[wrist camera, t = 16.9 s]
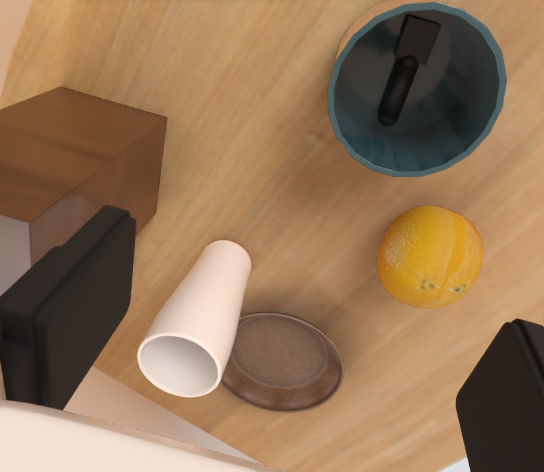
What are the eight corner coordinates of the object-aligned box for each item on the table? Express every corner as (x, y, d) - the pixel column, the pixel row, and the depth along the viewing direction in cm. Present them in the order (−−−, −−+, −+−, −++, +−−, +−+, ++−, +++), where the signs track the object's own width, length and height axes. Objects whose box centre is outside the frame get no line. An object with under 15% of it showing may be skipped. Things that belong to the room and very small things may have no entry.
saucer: (313, 411, 57) (311, 430, 54) (200, 367, 56) (194, 385, 54) (367, 329, 49) (368, 347, 47) (238, 277, 48) (232, 293, 46)
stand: (60, 86, 41) (-154, 168, 24) (167, 117, 41) (29, 222, 24) (60, 185, 46) (-115, 310, 29) (155, 213, 46) (35, 356, 29)
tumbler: (359, -22, 33) (359, -20, 26) (499, 17, 33) (541, 31, 25) (318, 116, 39) (308, 152, 31) (438, 150, 39) (458, 195, 31)
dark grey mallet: (407, 14, 33) (409, 16, 32) (439, 23, 33) (442, 25, 32) (370, 118, 38) (370, 124, 36) (398, 126, 37) (399, 132, 36)
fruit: (455, 279, 44) (472, 335, 37) (370, 268, 45) (372, 321, 38) (480, 195, 40) (506, 242, 33) (386, 185, 41) (391, 228, 34)
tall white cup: (183, 261, 48) (120, 366, 36) (217, 218, 45) (162, 316, 32) (235, 297, 50) (193, 411, 37) (272, 258, 46) (239, 367, 34)
